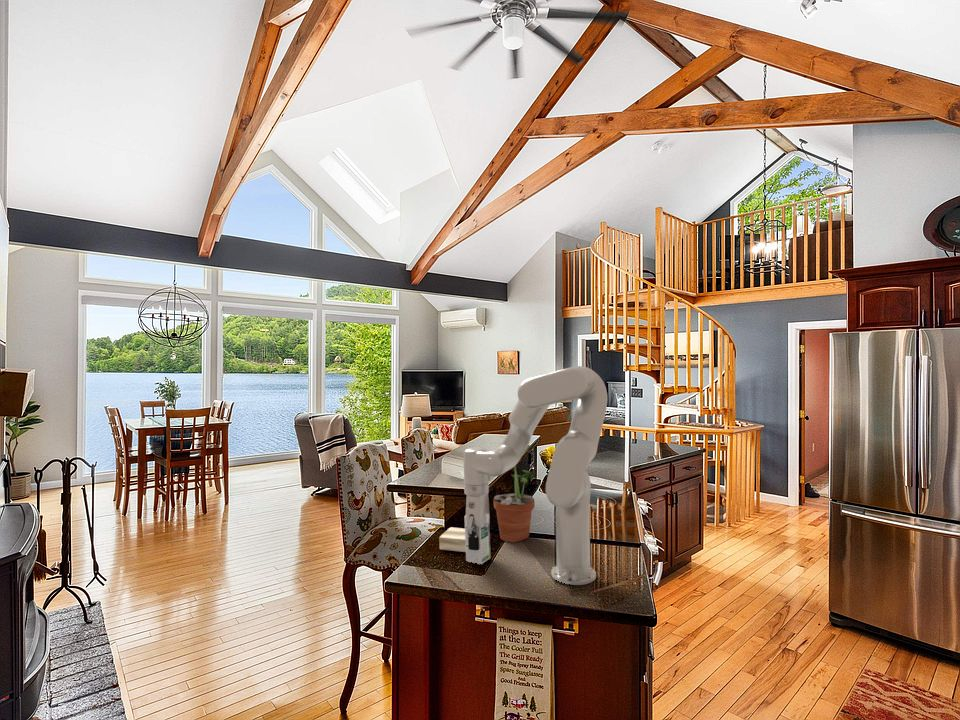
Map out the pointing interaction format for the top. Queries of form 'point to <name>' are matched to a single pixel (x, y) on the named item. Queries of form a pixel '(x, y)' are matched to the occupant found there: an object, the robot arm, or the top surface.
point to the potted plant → (515, 510)
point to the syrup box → (484, 544)
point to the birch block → (453, 540)
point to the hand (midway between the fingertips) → (477, 544)
